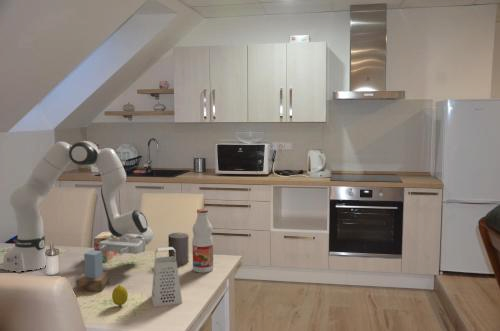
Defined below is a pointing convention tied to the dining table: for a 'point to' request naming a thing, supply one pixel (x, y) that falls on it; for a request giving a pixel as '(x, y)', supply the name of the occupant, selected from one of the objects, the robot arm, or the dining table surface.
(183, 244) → the pillar candle
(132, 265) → the dining table surface
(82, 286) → the walnut block
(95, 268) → the slate block
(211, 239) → the fruit juice
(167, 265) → the grater
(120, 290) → the lemon
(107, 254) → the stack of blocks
